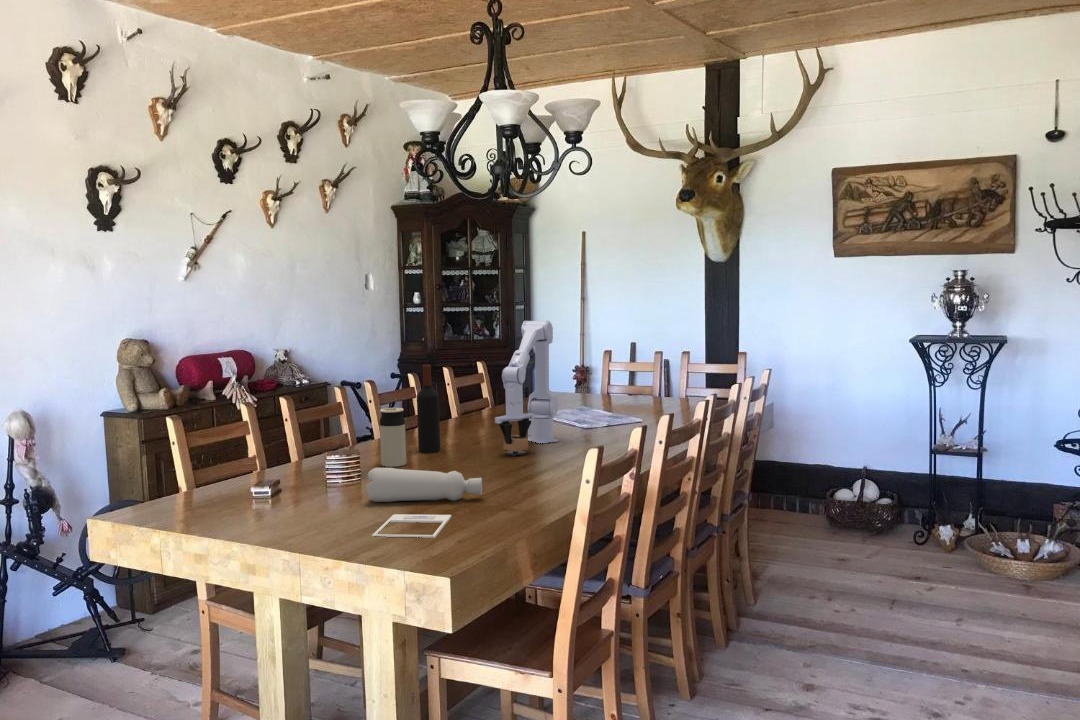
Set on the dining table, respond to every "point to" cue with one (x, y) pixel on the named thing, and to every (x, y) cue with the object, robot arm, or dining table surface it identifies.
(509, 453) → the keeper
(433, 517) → the photo frame
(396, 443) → the travel mug
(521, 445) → the copper rectangular sleeve
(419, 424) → the wine bottle
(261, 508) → the dining table surface
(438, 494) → the bottle
